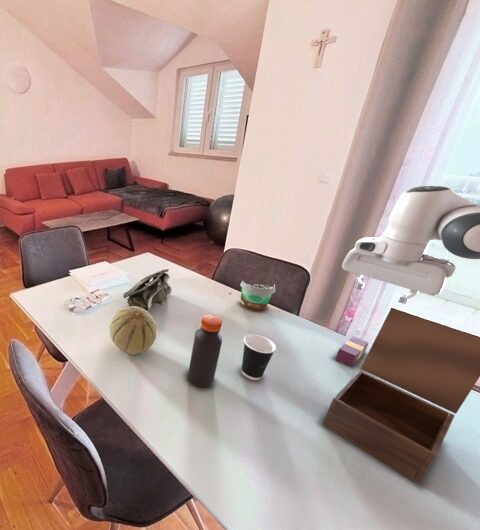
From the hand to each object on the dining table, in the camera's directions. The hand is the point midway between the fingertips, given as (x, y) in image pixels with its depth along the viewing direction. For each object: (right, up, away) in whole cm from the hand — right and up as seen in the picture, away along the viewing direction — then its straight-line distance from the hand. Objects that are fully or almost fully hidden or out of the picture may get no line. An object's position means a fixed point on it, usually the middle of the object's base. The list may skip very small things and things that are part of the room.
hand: (379, 295), depth 87 cm
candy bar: (0, -20, +10) cm, 22 cm away
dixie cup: (-34, -23, +3) cm, 42 cm away
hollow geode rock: (-57, -7, +40) cm, 70 cm away
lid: (-6, -13, -16) cm, 22 cm away
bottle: (-50, -24, +1) cm, 55 cm away
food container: (-15, -9, +36) cm, 40 cm away
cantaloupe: (-67, -19, +14) cm, 71 cm away
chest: (-14, -31, -14) cm, 37 cm away
